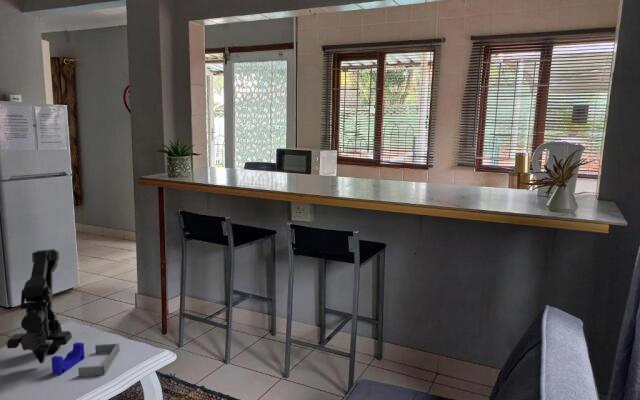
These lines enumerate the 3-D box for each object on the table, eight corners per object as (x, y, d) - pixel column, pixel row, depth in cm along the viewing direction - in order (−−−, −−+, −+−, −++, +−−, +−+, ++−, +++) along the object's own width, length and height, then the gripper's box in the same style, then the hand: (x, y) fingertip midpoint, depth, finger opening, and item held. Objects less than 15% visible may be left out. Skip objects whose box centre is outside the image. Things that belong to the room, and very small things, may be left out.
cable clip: (73, 357, 167) (72, 342, 166) (84, 358, 166) (83, 342, 165) (48, 374, 155) (47, 357, 154) (60, 375, 154) (59, 358, 153)
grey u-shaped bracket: (78, 376, 153) (78, 368, 153) (96, 352, 171) (95, 344, 170) (104, 374, 154) (104, 366, 154) (119, 350, 172) (119, 343, 171)
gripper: (-5, 331, 148) (0, 376, 150) (57, 327, 151) (61, 372, 153) (13, 318, 159) (17, 360, 161) (70, 315, 162) (73, 356, 164)
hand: (41, 362), depth 160 cm, fingers closed
